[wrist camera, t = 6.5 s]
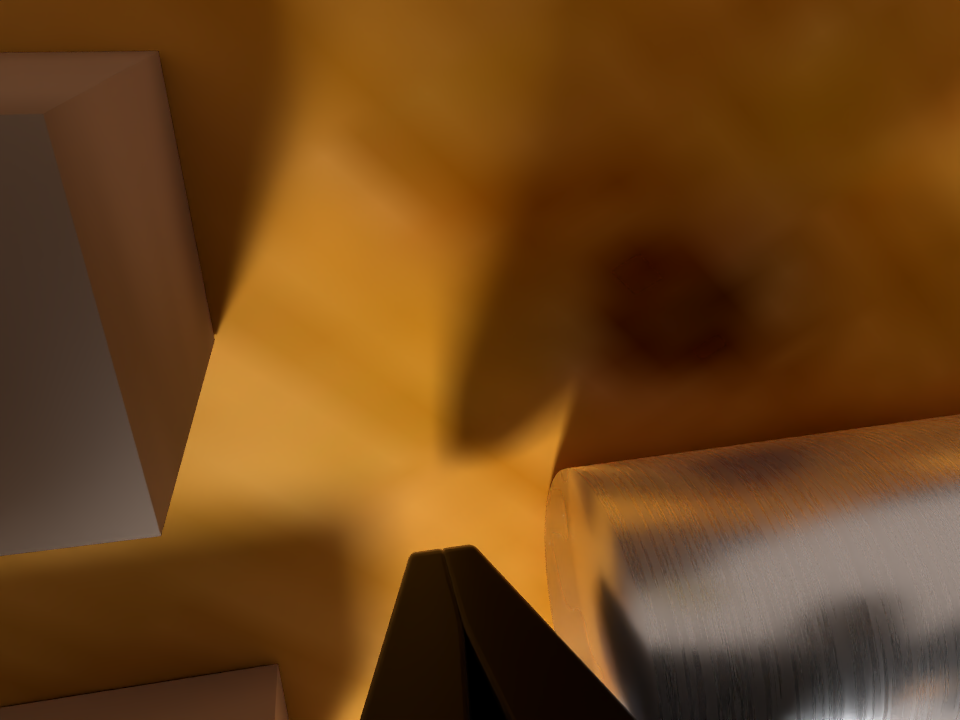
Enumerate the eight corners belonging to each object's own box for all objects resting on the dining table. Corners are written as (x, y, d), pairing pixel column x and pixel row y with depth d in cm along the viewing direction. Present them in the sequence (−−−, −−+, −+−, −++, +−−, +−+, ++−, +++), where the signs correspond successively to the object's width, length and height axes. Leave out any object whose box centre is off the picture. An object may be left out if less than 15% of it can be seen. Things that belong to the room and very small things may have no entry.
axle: (1221, 323, 10) (1573, 565, 8) (1057, 487, 13) (1269, 710, 10) (563, 402, 9) (698, 752, 6) (534, 571, 11) (616, 864, 9)
